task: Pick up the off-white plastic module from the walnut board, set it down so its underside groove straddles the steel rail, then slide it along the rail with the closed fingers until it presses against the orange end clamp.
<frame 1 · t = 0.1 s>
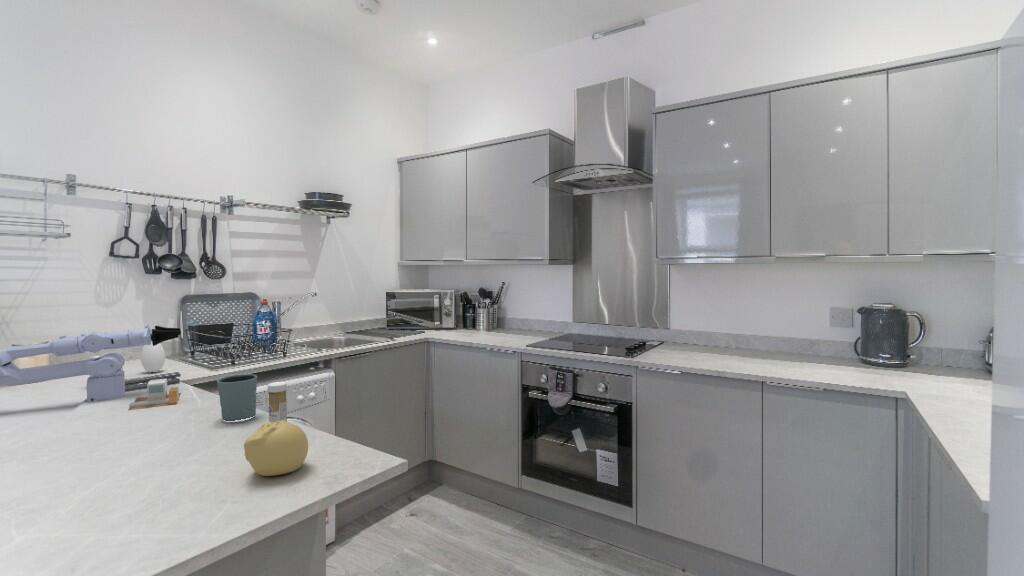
hand: (179, 332, 166), 22 cm above the worktop, tool horizontal, fingers open, 7 cm apart
ink cartridge box: (106, 386, 178), on the worktop
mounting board: (156, 405, 152), on the worktop
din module: (157, 398, 156), point 1 cm above the worktop, touching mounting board
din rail: (154, 408, 149), resting on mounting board
sauce bottle: (153, 373, 200), on the worktop
teal cup: (238, 419, 139), on the worktop
sculpture: (278, 471, 103), on the worktop
sprinkles bottle: (278, 433, 127), on the worktop
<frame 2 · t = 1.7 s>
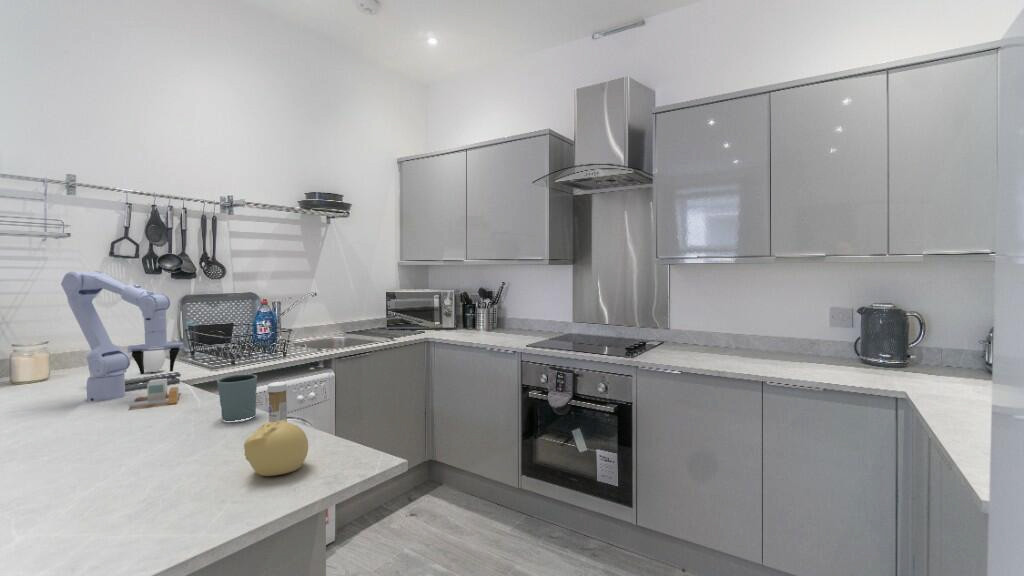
hand: (157, 372, 155), 10 cm above the worktop, tool pointing down, fingers open, 7 cm apart
nothing on the worktop moved.
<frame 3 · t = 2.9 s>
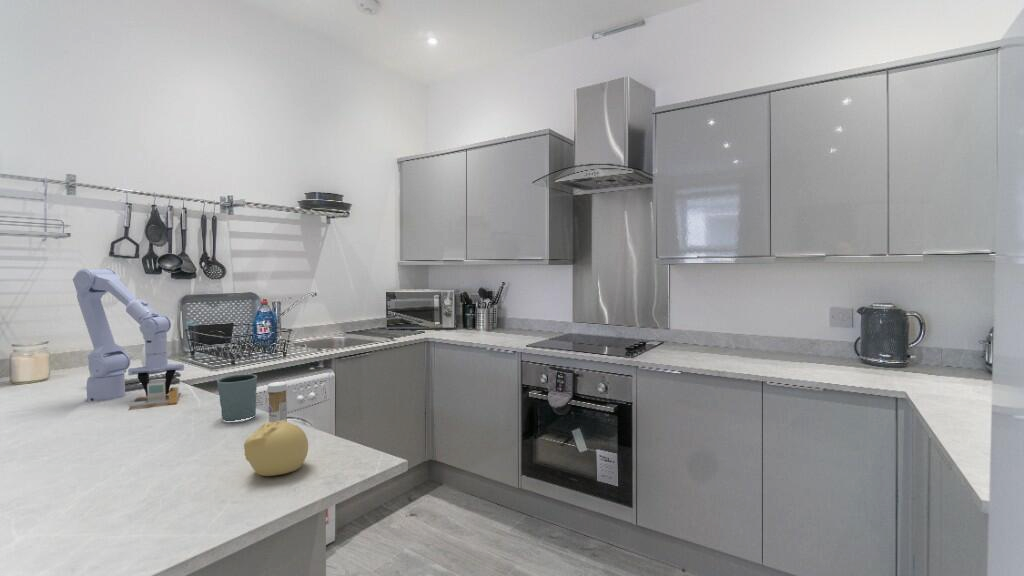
hand: (157, 394, 156), 3 cm above the worktop, tool pointing down, fingers closed on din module, 4 cm apart
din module: (157, 398, 156), point 1 cm above the worktop, touching gripper, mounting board
everything else where it was.
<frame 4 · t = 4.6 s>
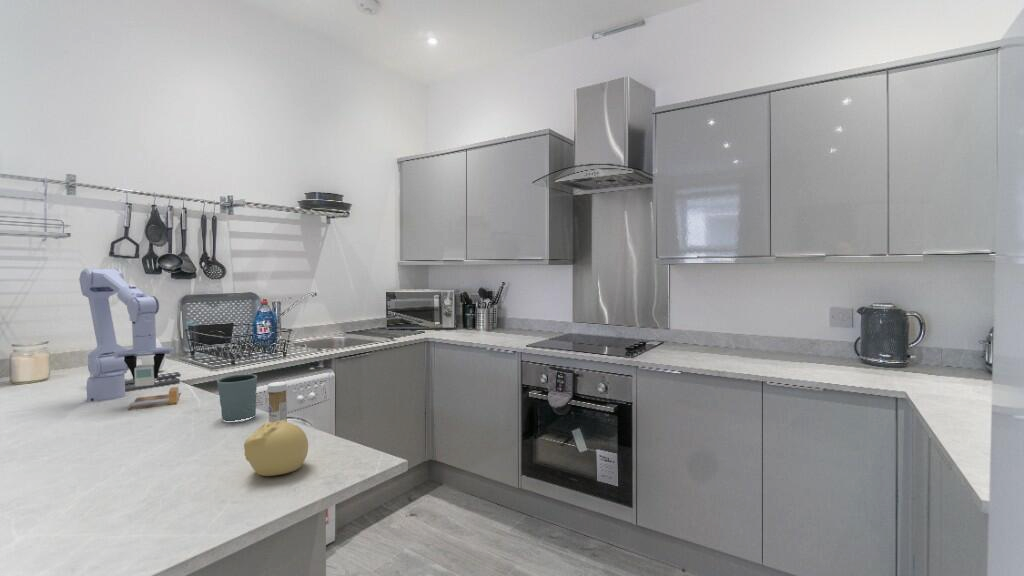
hand: (145, 378, 147), 10 cm above the worktop, tool pointing down, fingers closed on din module, 4 cm apart
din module: (146, 383, 148), point 8 cm above the worktop, touching gripper
everything else where it was.
when the fingers open (4 cm above the worktop, at t = 6.2 s): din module stays where it is, resting on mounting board.
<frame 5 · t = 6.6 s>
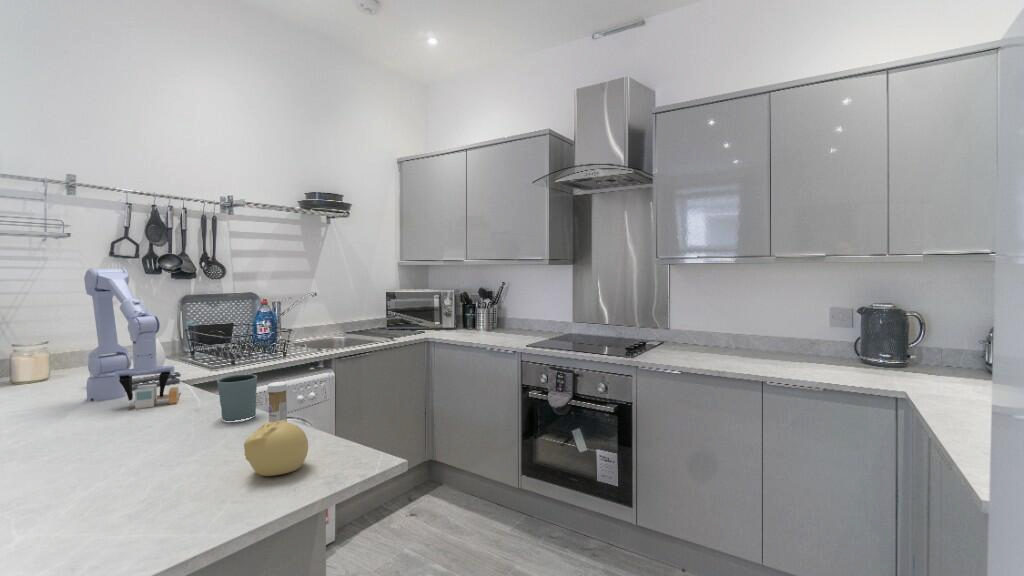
hand: (146, 397, 148), 4 cm above the worktop, tool pointing down, fingers open, 7 cm apart
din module: (146, 404, 148), point 1 cm above the worktop, touching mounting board
everything else where it was.
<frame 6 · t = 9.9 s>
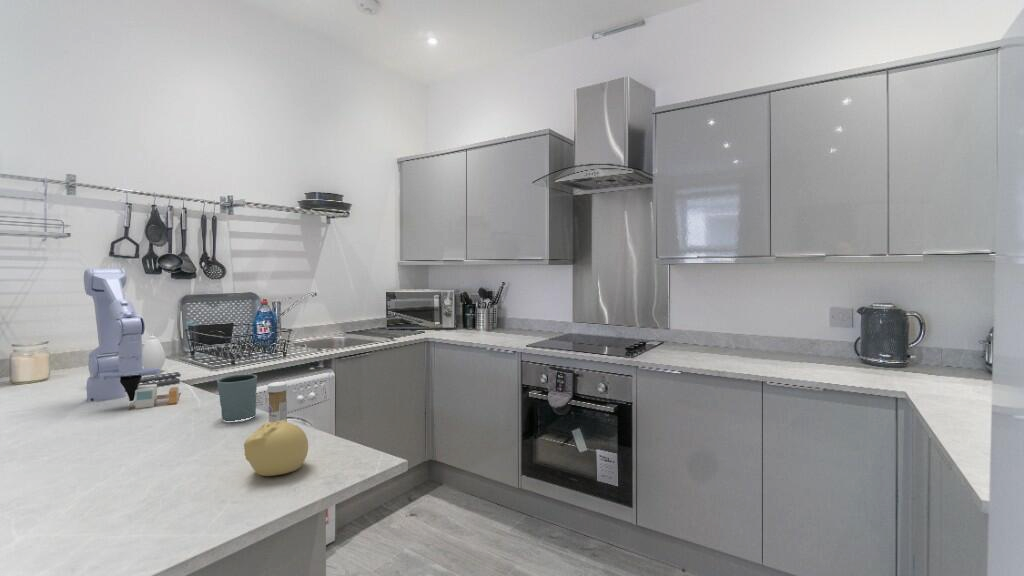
hand: (132, 400, 146), 3 cm above the worktop, tool pointing down, fingers closed, pressing on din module
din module: (146, 404, 148), point 2 cm above the worktop, touching gripper, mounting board
everything else where it was.
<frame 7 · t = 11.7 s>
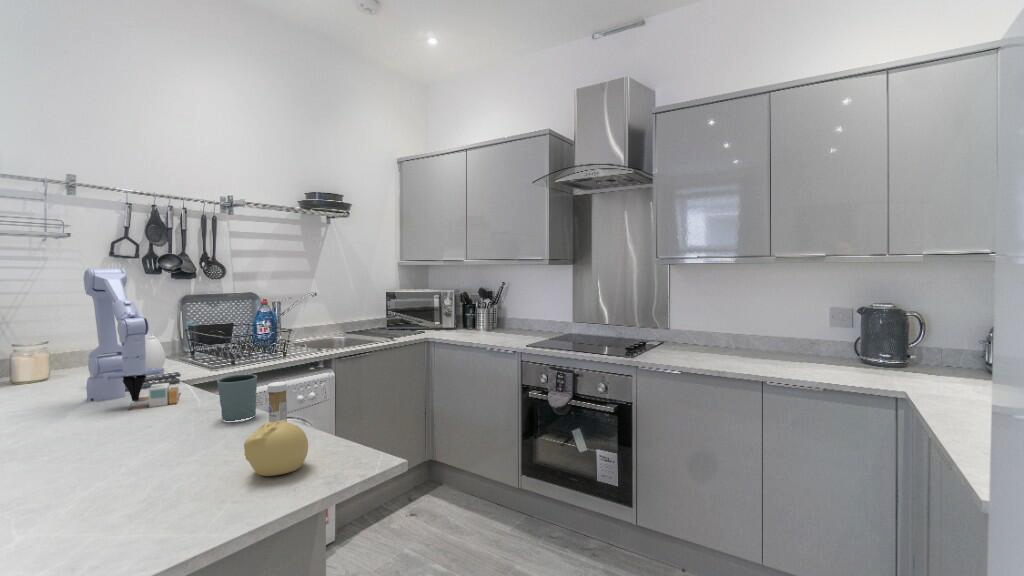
hand: (135, 400, 146), 3 cm above the worktop, tool pointing down, fingers closed
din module: (159, 403, 150), point 1 cm above the worktop, touching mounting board
everything else where it was.
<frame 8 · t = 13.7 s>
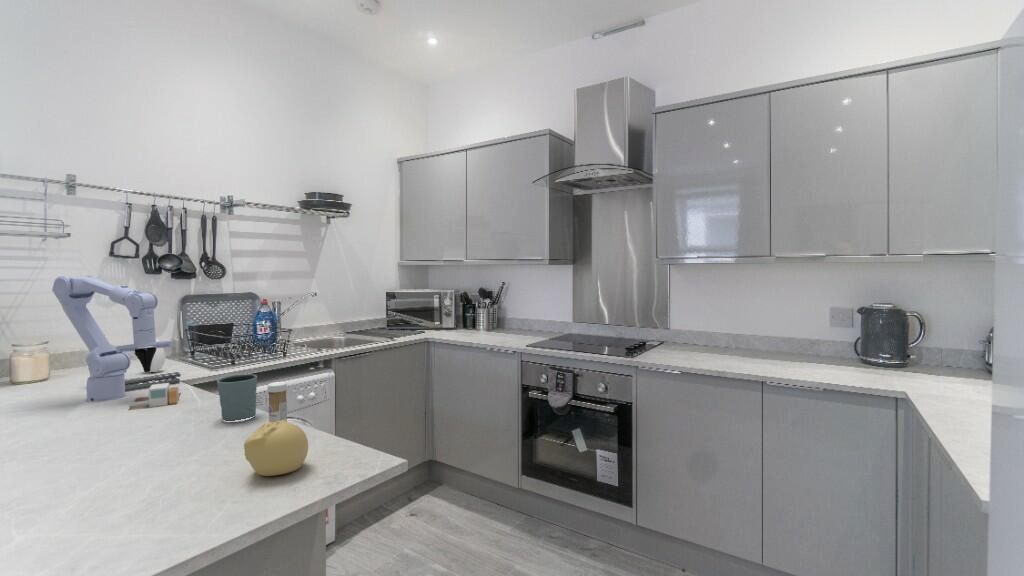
hand: (147, 371, 155), 10 cm above the worktop, tool pointing down, fingers closed
nothing on the worktop moved.
at the end: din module 0.1 cm from the target spot, point 1.5 cm above the worktop; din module tilted 0°; the gripper is holding nothing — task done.
